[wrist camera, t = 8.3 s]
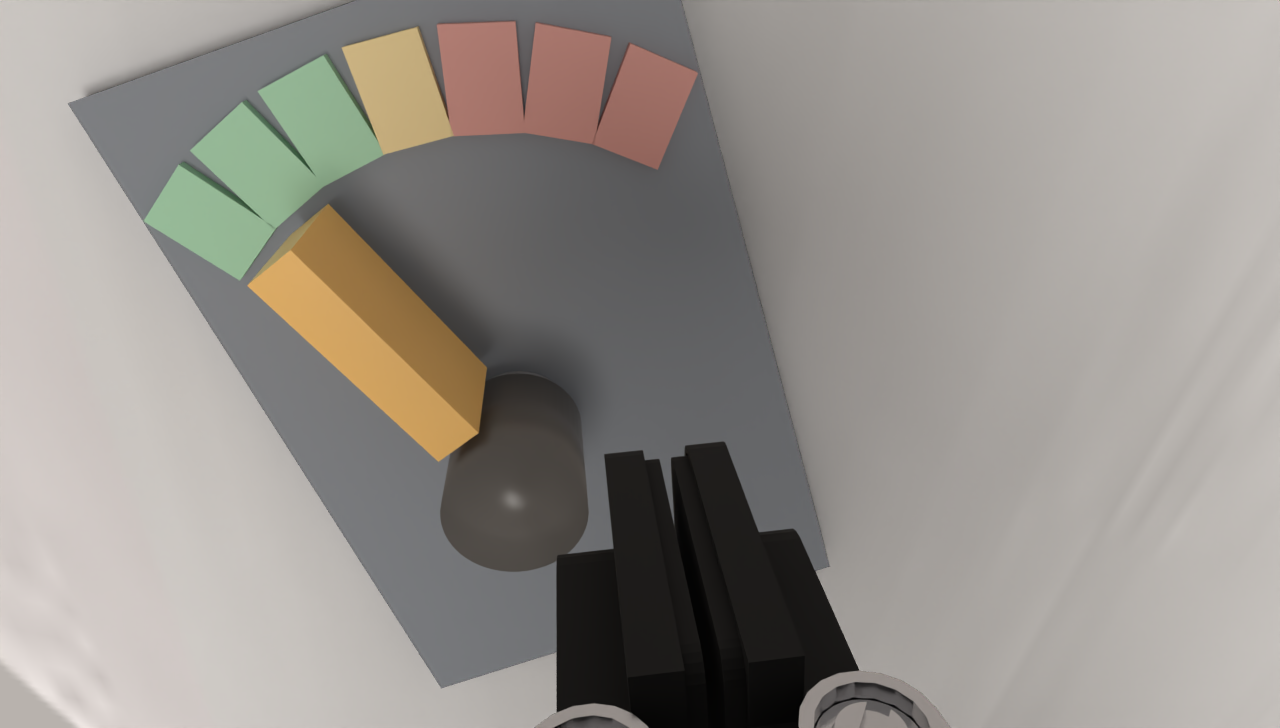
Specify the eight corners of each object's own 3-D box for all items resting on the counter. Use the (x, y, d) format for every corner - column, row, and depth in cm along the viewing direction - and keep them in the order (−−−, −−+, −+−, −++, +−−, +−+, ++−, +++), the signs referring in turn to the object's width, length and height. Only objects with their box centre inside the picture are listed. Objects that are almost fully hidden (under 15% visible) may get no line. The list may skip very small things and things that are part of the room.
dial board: (822, 550, 27) (835, 577, 26) (443, 669, 28) (439, 701, 27) (649, -104, 18) (656, -108, 17) (85, 97, 19) (54, 108, 17)
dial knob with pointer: (606, 435, 23) (617, 520, 19) (511, 500, 23) (506, 593, 20) (364, 173, 19) (325, 224, 15) (258, 260, 19) (198, 327, 16)
